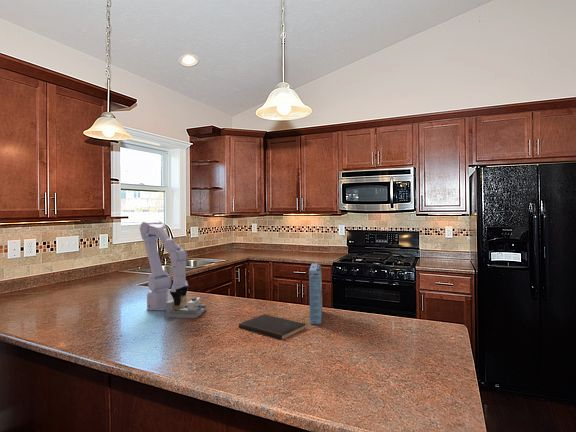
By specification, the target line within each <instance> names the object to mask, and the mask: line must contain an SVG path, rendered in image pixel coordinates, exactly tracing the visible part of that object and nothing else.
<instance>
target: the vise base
mask: <svg viewBox="0 0 576 432" xmlns="http://www.w3.org/2000/svg"><path fill="white" fill-rule="evenodd" d="M206 309H207V306H206V304H201V308H199V309H198V310H197V311H187V306H186V307H185V308H183V309H174V300H173V298H172V299H170V300H168V302H166V310H165V315H164V316H165V318H169V317H170V318H173V319H174V317H176V318H177V317H178V318H177V319H179V318H180V319H181V318H183V319H184V318H185V319H197V317H198V316H199V317H200V316H201V315H202V314H203V313H205V311H206ZM199 317H198V318H199Z"/></svg>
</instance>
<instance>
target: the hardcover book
mask: <svg viewBox="0 0 576 432" xmlns="http://www.w3.org/2000/svg"><path fill="white" fill-rule="evenodd" d="M306 325H307V323H303V322H298V321H295V320H291V319H287V318H286V319H285V318H284V317H283V318H282V317H278V316H274V315H269V314H265V313H264V314H260V315H258V316H256V317H252V318H249V319H248V320H244V321H242V322H239V323H238V328H239V329H242V330H245V331H249V332H252V333H255V334H256V333H257V334H258V335H263V336H266V337H270V338H273V339H277V340H281V341H282V340H284V339H286V338H288V337H290V336H292V335H294V334H296V333H298V332H300V331H302V330H305V329H306Z"/></svg>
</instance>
